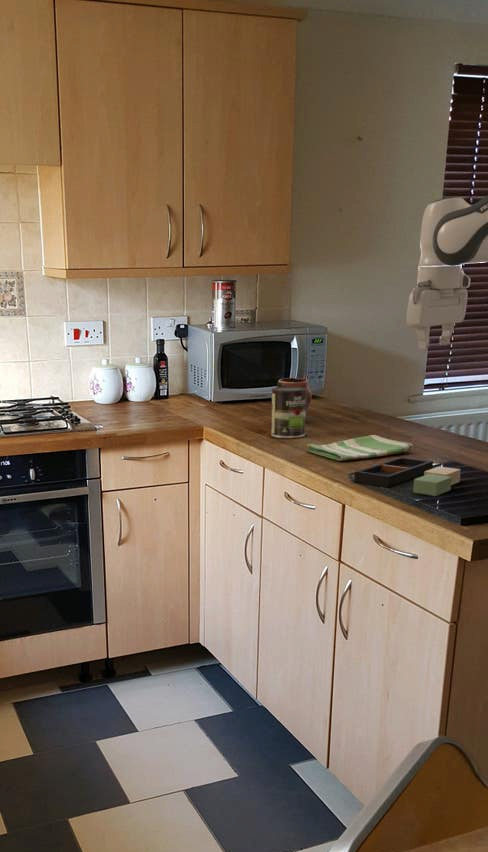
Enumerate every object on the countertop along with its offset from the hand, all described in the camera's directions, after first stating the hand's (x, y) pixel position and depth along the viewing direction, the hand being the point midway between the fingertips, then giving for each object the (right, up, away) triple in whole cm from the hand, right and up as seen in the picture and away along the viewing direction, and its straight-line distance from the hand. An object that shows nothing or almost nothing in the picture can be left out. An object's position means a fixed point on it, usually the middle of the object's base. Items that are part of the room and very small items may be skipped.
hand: (434, 346), depth 192 cm
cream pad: (+5, -29, +11) cm, 31 cm away
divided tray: (-4, -26, +18) cm, 32 cm away
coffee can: (-22, -8, +73) cm, 77 cm away
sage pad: (+1, -31, +3) cm, 32 cm away
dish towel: (-6, -17, +46) cm, 50 cm away
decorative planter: (-17, 0, +96) cm, 97 cm away
